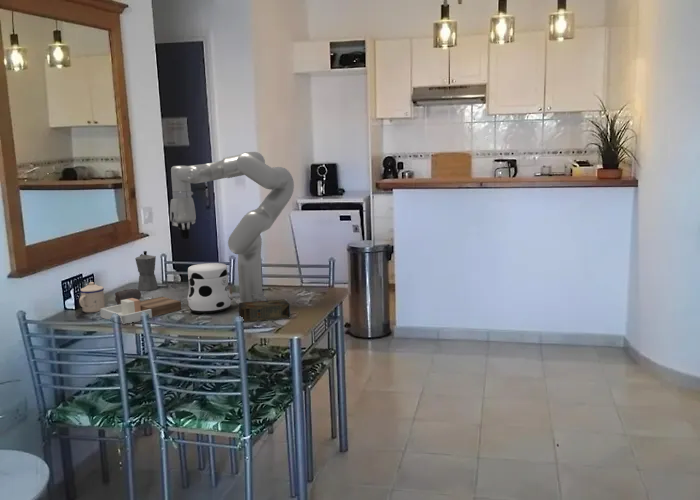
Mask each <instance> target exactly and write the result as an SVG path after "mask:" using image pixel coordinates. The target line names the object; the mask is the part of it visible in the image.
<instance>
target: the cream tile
mask: <svg viewBox="0 0 700 500" xmlns="http://www.w3.org/2000/svg"><path fill="white" fill-rule="evenodd" d="M121 310H122V315H126V314H130V313H135V307H134V301H131V300H128V299H125V300H121Z"/></svg>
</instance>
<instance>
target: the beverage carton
mask: <svg viewBox="0 0 700 500" xmlns="http://www.w3.org/2000/svg"><path fill="white" fill-rule="evenodd" d="M238 316H241V317H243V319H244V321H245V322H244V323H248V322H247V321H250V322H258V321H257V320H262V321H267V320H266V319H273V320H280V319H279V318H283V319H290V318H291V304H290V302H289V300H288V299H287V298H283V299H274V300H273V299H272V300H271V299H270V300H267V301H253V302H242V303H239V305H238ZM289 317H290V318H289Z"/></svg>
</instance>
